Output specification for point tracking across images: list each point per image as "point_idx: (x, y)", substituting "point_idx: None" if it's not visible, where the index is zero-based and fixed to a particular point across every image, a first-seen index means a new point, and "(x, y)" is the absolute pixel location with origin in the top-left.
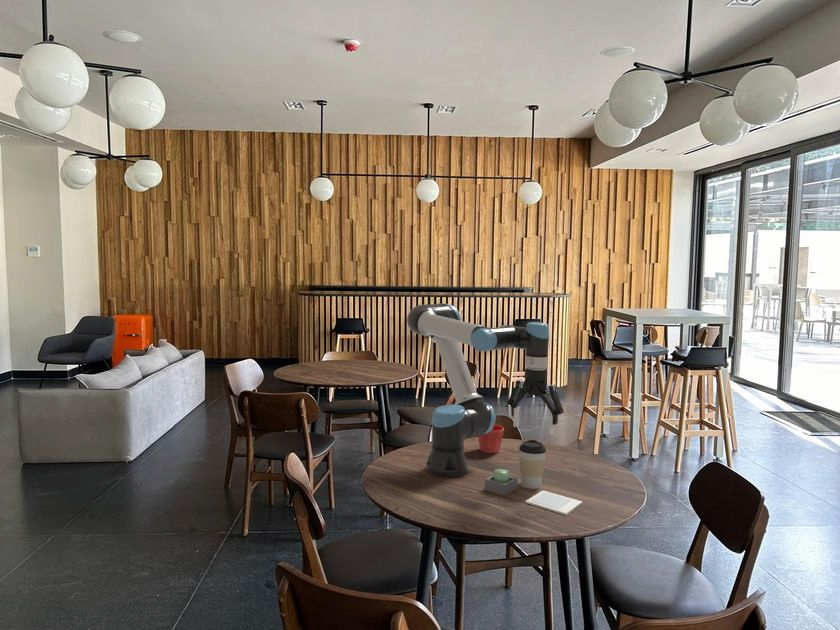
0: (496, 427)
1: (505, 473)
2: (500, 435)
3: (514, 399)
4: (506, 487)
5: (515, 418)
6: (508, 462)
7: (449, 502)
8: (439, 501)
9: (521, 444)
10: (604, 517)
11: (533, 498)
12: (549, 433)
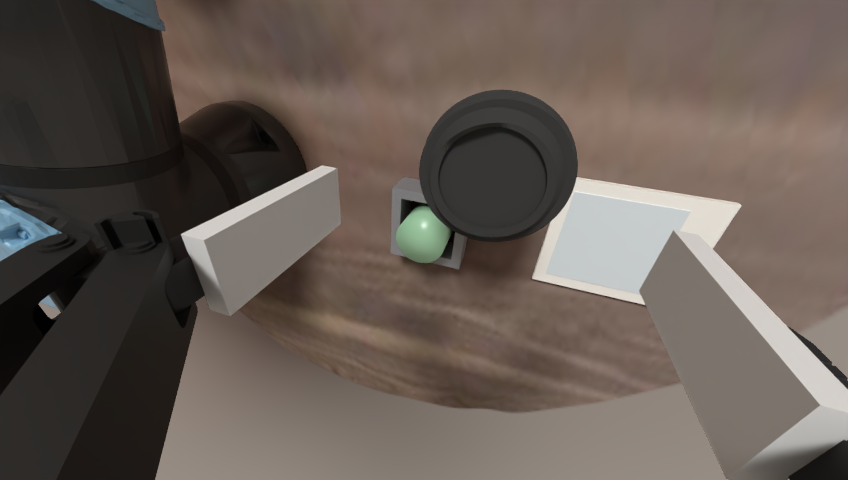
0: None
1: (438, 252)
2: None
3: (36, 305)
4: (461, 259)
5: (301, 256)
6: None
7: (383, 329)
8: (366, 331)
9: (422, 170)
10: (824, 280)
11: (549, 253)
12: (643, 296)
